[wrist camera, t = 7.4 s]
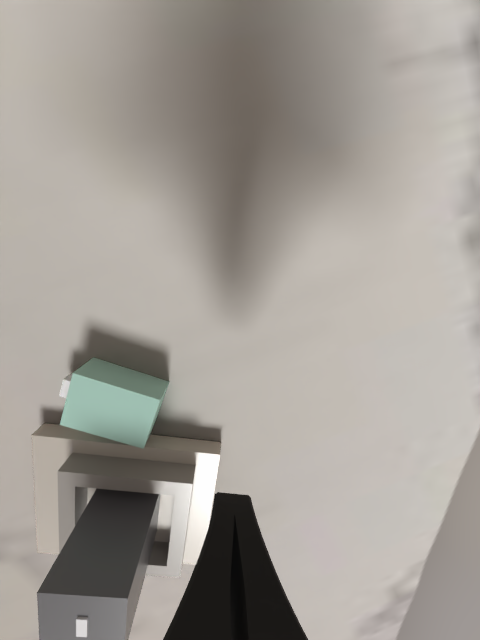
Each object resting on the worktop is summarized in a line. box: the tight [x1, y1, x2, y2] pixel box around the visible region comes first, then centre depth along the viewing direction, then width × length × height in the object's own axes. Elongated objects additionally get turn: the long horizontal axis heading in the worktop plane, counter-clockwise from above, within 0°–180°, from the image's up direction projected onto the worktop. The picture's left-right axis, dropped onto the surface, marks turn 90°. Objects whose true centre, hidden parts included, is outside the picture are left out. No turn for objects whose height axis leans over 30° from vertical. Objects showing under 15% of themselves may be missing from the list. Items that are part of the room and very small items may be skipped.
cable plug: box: [59, 357, 169, 449], centre depth 16 cm, size 4×6×2 cm, turn 69°
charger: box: [37, 489, 161, 640], centre depth 15 cm, size 4×4×6 cm
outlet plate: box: [31, 423, 221, 578], centre depth 18 cm, size 10×12×3 cm
